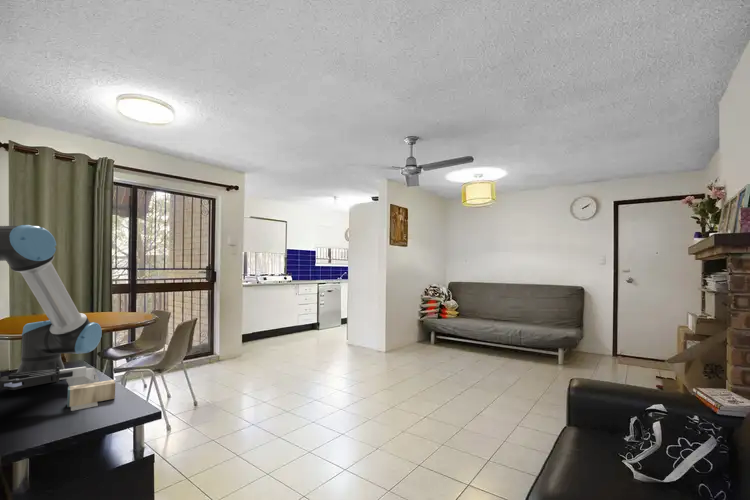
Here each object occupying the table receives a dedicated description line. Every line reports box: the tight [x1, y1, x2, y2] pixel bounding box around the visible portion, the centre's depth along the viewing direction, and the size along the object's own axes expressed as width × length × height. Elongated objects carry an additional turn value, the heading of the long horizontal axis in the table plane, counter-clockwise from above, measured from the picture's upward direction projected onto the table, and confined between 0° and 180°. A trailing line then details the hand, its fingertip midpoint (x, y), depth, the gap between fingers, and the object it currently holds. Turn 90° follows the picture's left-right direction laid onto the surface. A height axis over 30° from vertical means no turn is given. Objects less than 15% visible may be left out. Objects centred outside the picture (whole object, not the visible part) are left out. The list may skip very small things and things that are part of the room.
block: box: [66, 379, 116, 408], centre depth 120 cm, size 5×5×12 cm
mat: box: [70, 402, 99, 412], centre depth 119 cm, size 12×6×1 cm, turn 40°
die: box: [65, 367, 101, 387], centre depth 131 cm, size 8×9×10 cm
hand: (85, 371), depth 119 cm, fingers closed
